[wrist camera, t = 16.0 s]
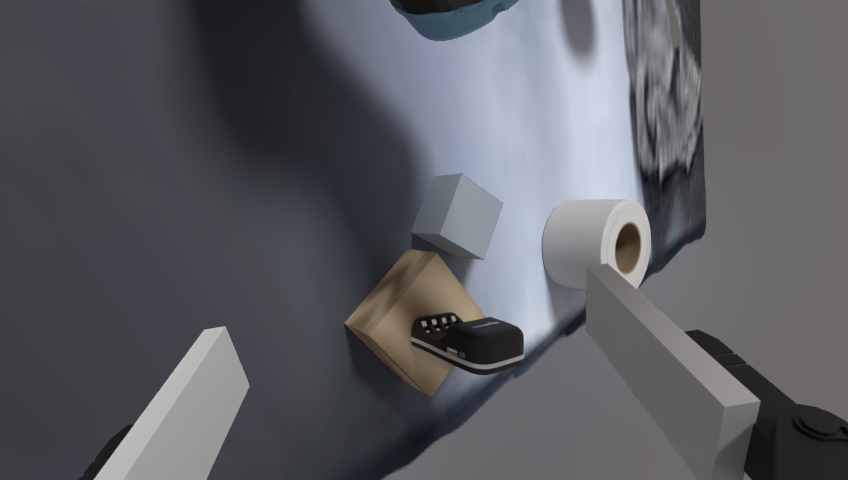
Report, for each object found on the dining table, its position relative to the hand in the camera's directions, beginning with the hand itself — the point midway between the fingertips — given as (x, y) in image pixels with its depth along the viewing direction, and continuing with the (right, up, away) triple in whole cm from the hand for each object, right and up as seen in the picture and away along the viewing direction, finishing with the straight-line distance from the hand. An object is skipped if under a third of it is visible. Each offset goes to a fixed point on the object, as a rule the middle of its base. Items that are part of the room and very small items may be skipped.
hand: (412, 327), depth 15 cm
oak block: (-2, -6, +37) cm, 38 cm away
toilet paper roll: (+26, +3, +58) cm, 63 cm away
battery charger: (+1, -7, +32) cm, 33 cm away
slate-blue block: (+3, +6, +40) cm, 41 cm away
